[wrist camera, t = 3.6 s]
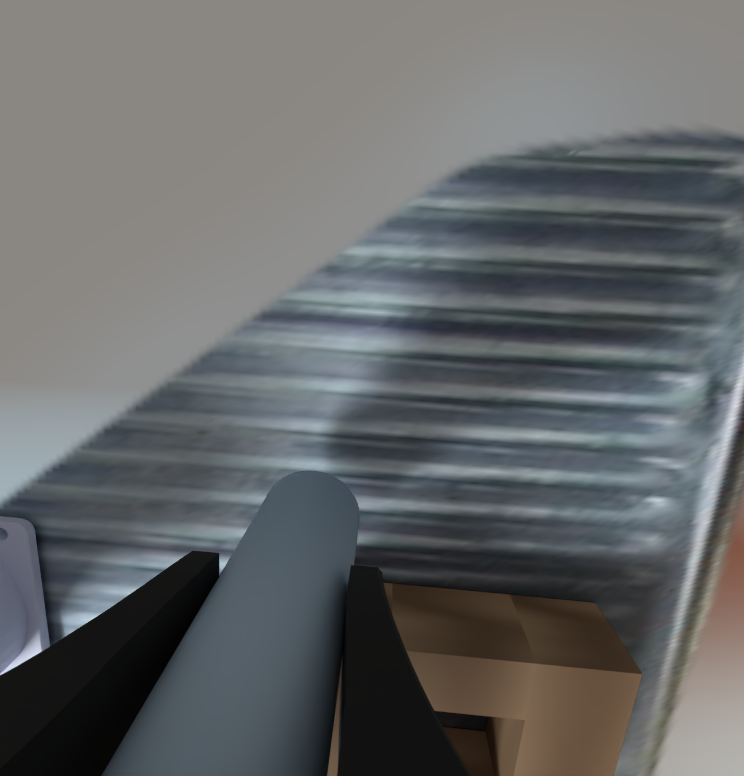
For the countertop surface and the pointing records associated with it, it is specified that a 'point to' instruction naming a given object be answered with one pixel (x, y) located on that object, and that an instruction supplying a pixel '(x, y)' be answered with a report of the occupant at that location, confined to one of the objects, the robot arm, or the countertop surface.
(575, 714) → the hole block
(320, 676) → the dowel
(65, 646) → the robot arm
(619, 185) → the countertop surface
